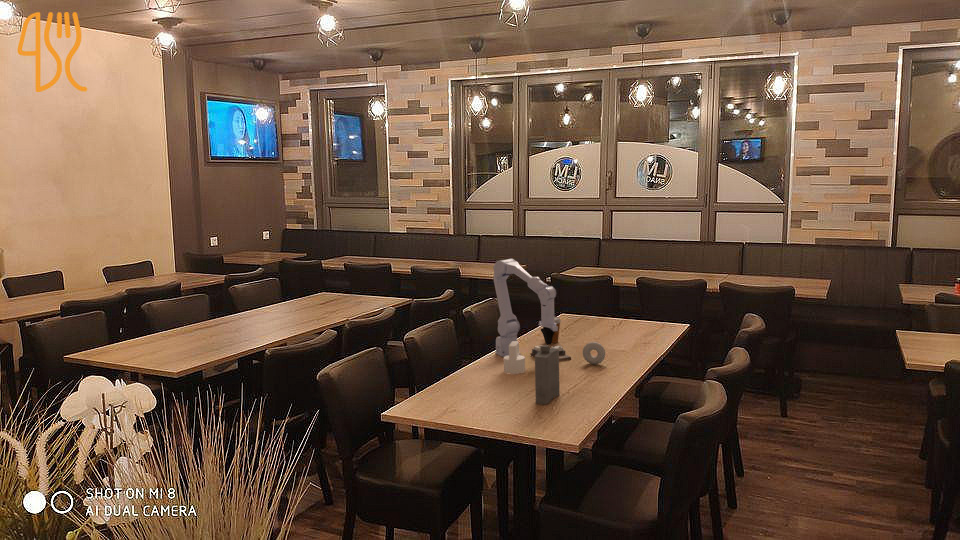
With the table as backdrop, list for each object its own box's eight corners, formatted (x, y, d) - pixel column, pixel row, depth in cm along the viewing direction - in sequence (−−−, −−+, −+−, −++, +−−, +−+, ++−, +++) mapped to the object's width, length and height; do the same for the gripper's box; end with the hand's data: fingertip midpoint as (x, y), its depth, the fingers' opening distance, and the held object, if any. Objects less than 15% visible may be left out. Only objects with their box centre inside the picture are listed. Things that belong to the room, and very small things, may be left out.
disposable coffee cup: (561, 339, 363) (560, 316, 361) (561, 344, 353) (561, 320, 352) (542, 340, 364) (541, 316, 362) (541, 344, 354) (541, 320, 353)
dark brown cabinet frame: (545, 363, 319) (545, 356, 319) (530, 355, 333) (530, 349, 333) (571, 359, 324) (571, 353, 324) (555, 352, 338) (555, 346, 338)
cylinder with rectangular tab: (523, 374, 303) (523, 346, 301) (502, 374, 304) (501, 345, 303) (526, 368, 311) (526, 341, 310) (505, 368, 313) (505, 341, 312)
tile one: (538, 352, 329) (538, 347, 329) (534, 350, 333) (534, 345, 333) (546, 351, 331) (546, 346, 330) (542, 349, 334) (542, 344, 334)
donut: (581, 364, 315) (581, 341, 314) (583, 362, 318) (583, 340, 317) (604, 366, 311) (604, 343, 310) (606, 364, 315) (606, 341, 313)
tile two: (555, 352, 327) (555, 348, 327) (551, 351, 331) (550, 346, 331) (562, 351, 329) (562, 347, 328) (558, 349, 332) (558, 345, 332)
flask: (547, 392, 277) (546, 340, 274) (561, 394, 274) (560, 342, 272) (531, 403, 264) (530, 349, 261) (546, 405, 261) (545, 351, 259)
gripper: (563, 315, 315) (564, 346, 317) (548, 310, 329) (549, 340, 330) (549, 317, 313) (549, 348, 314) (534, 312, 326) (535, 341, 328)
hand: (548, 344), depth 322 cm, fingers closed
